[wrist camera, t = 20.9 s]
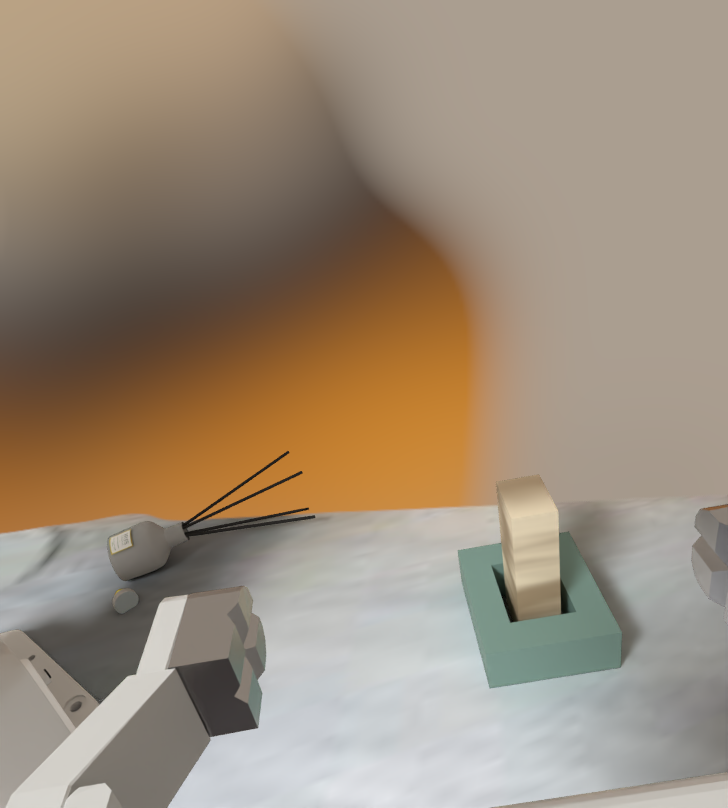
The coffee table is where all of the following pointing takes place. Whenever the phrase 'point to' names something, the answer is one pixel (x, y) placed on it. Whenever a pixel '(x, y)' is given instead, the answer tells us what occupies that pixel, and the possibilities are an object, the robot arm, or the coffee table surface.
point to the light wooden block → (529, 548)
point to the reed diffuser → (168, 543)
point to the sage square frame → (539, 621)
